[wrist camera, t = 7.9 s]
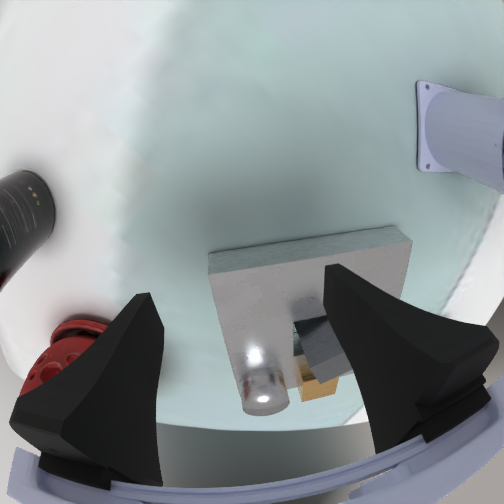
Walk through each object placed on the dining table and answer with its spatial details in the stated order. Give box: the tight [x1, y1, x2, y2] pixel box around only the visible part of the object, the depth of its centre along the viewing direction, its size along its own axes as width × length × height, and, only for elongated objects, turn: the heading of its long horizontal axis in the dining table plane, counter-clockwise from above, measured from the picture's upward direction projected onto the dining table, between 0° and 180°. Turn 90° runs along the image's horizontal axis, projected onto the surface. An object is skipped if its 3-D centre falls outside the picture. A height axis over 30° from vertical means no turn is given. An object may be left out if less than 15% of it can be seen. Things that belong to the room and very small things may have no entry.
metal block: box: [294, 315, 352, 384], centre depth 22 cm, size 3×3×7 cm
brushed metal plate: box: [208, 226, 412, 416], centre depth 23 cm, size 16×16×6 cm
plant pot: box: [19, 320, 108, 396], centre depth 20 cm, size 13×13×12 cm
